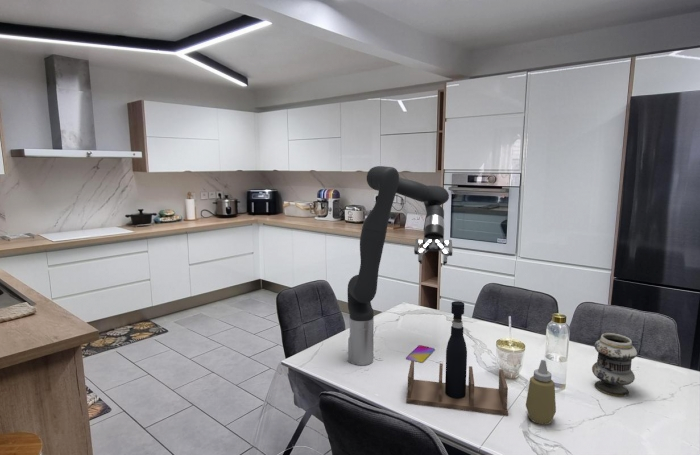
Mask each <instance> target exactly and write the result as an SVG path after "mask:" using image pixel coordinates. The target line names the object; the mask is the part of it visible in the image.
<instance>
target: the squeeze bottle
mask: <svg viewBox="0 0 700 455" xmlns="http://www.w3.org/2000/svg"><path fill="white" fill-rule="evenodd" d="M555 388H556V387H555V382H554V380H552V373H551V372H550V371H548V366H547V361H546V360H545V359H541V360H540V363H539V365H538V368H537V369H534V371H533V376H531V377H530V378H529V384H528V390H527V396H526V402H525V408H526V410H527V414H528V418H529V419H530V420H531V421H532V422H534V423H537V424H539V425H548V424H550V423H551V422H552V421H553V419H554V417H555V415H556V411H557V406H556V404H557V403H556V389H555Z"/></svg>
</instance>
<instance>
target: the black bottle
mask: <svg viewBox="0 0 700 455" xmlns="http://www.w3.org/2000/svg"><path fill="white" fill-rule="evenodd" d="M450 309H451V311H450V312H451V314H453V316H452V317H453V318H452V319H453V320H452V321H451V327H450V336H449V339H448V341H447V344H446V350H445V382H444V383H445V393H446V395H447V396H449V397H451V398H455V399H460V398H463V397H465V395H466V385H467V365H468V364H467V363H468V348H467V343H466V339H465V337H464V326H463V324H464V323H463V318H462V316H463V315H464V314H465V303H464V302H463V301H460V300H459V301H456V300H455V301H452V302H451V308H450Z"/></svg>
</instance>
